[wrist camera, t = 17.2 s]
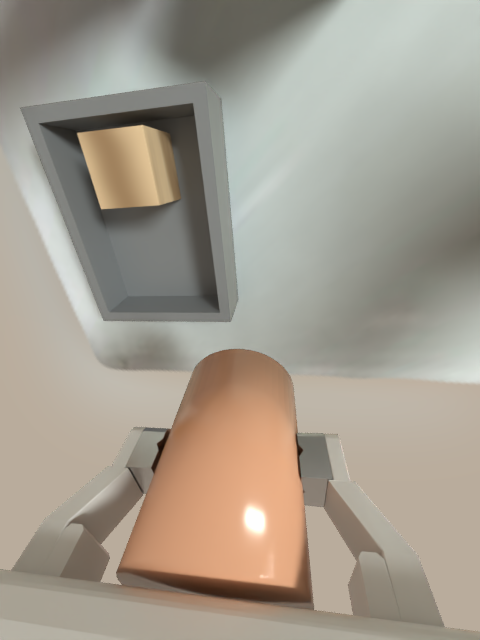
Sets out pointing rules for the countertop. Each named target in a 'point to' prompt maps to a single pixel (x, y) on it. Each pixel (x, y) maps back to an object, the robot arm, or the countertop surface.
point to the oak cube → (131, 166)
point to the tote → (147, 221)
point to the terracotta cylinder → (227, 491)
